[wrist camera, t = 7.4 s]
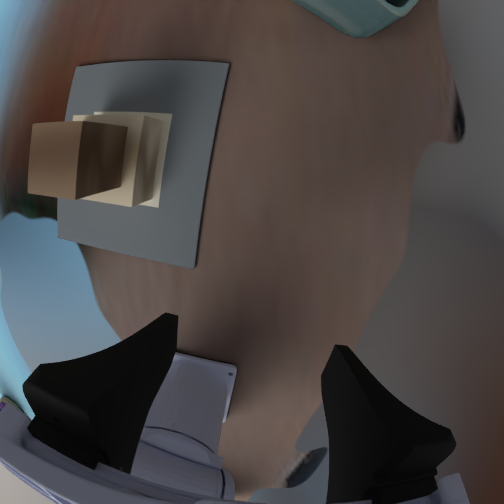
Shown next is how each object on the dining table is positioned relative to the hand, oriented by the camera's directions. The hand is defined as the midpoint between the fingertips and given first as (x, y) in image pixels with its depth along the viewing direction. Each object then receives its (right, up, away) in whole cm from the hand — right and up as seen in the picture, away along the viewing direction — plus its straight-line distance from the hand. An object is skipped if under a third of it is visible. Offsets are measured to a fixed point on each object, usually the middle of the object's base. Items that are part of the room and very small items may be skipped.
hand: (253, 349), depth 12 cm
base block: (-10, +12, +7) cm, 17 cm away
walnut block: (-10, +11, +4) cm, 15 cm away
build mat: (-10, +12, +8) cm, 17 cm away
